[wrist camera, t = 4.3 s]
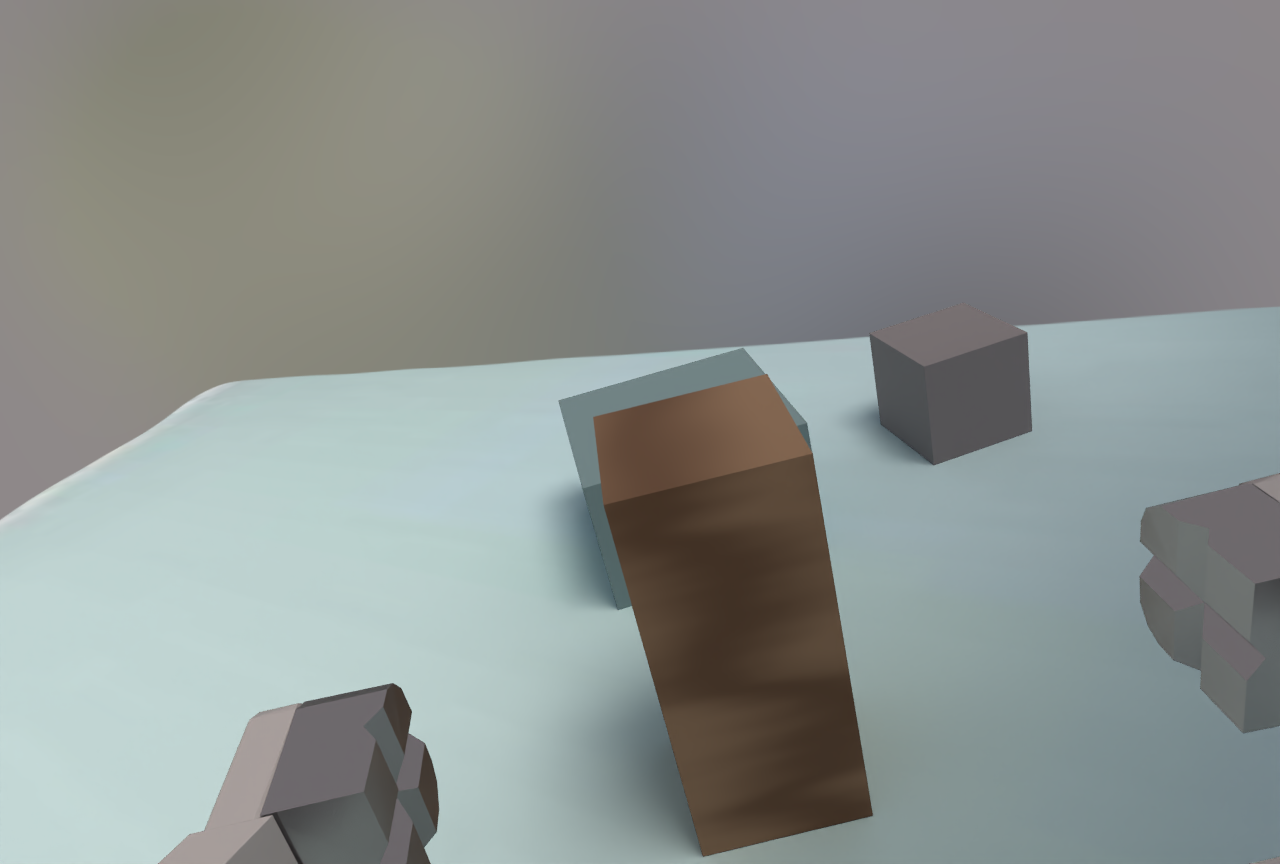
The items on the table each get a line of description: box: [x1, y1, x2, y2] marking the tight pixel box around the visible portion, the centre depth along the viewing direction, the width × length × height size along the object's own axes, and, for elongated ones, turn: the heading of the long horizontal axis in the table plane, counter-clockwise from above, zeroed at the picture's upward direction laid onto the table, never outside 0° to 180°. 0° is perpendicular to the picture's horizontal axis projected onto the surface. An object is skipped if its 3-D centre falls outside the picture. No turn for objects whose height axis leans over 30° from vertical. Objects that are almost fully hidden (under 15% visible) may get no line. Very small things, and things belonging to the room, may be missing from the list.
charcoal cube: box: [869, 303, 1032, 465], centre depth 45 cm, size 5×5×5 cm
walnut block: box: [593, 374, 873, 856], centre depth 27 cm, size 5×5×12 cm
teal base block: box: [559, 348, 812, 610], centre depth 42 cm, size 9×9×6 cm
